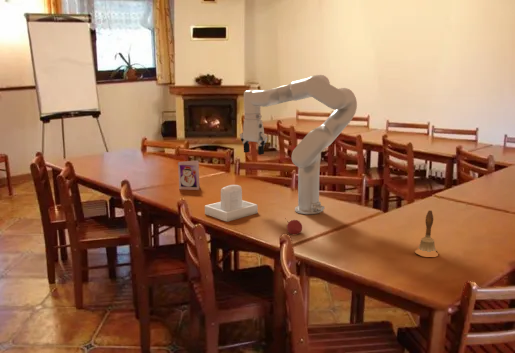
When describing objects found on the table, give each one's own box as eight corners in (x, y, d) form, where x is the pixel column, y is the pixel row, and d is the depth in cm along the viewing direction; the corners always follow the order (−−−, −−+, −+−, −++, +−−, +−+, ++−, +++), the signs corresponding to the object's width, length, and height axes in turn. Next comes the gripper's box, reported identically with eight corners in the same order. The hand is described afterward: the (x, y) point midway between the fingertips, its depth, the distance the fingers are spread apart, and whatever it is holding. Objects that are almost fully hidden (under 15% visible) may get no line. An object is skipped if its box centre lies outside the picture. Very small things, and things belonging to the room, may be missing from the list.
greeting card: (178, 189, 277) (177, 162, 274) (183, 186, 284) (182, 159, 281) (198, 190, 275) (197, 163, 271) (203, 187, 282) (202, 160, 278)
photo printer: (238, 208, 237) (237, 182, 234) (243, 210, 234) (243, 184, 231) (219, 212, 231) (218, 186, 228) (224, 214, 228) (223, 187, 225)
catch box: (257, 213, 233) (257, 204, 232) (226, 221, 221) (226, 213, 220) (235, 206, 244) (235, 198, 243) (204, 214, 233) (204, 205, 232)
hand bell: (433, 249, 186) (436, 207, 183) (442, 257, 178) (445, 214, 175) (411, 249, 186) (413, 207, 182) (419, 258, 178) (421, 214, 174)
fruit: (297, 235, 209) (290, 216, 211) (305, 231, 205) (298, 212, 206) (286, 238, 205) (279, 219, 207) (295, 234, 201) (288, 215, 202)
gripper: (271, 117, 234) (272, 153, 237) (245, 115, 245) (246, 150, 249) (260, 118, 228) (261, 156, 232) (234, 116, 240) (235, 152, 244)
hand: (253, 153), depth 241 cm, fingers open, 9 cm apart
